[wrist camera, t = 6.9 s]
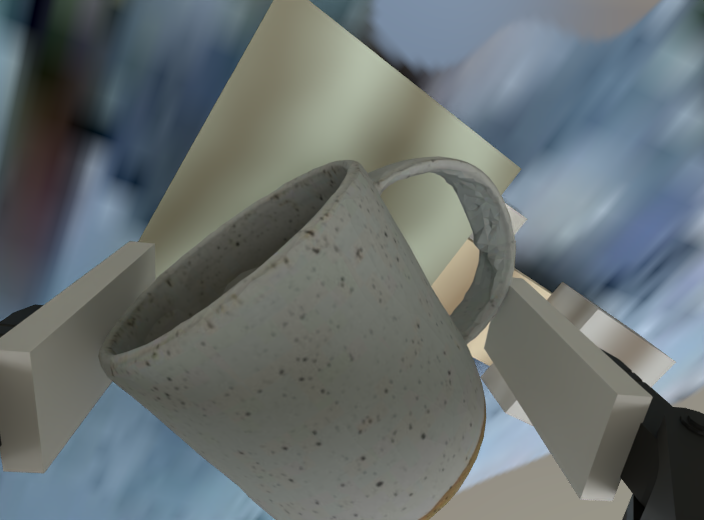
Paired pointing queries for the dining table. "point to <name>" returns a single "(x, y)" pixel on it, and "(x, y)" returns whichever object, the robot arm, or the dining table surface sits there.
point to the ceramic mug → (322, 347)
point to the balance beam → (364, 147)
